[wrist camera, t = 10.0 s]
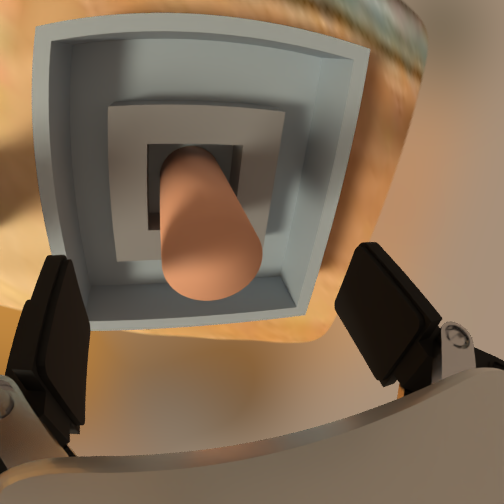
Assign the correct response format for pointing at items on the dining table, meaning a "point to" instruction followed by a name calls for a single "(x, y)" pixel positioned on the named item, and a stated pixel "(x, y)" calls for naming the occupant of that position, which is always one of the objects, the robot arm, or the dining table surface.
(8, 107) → the dining table surface
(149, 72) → the grey socket tray
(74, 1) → the dining table surface
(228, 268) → the peg
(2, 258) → the dining table surface
